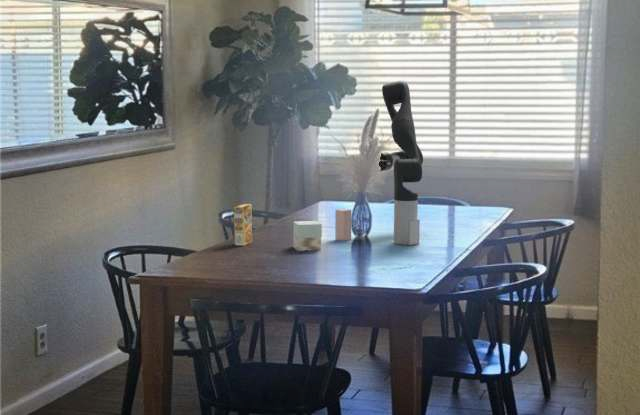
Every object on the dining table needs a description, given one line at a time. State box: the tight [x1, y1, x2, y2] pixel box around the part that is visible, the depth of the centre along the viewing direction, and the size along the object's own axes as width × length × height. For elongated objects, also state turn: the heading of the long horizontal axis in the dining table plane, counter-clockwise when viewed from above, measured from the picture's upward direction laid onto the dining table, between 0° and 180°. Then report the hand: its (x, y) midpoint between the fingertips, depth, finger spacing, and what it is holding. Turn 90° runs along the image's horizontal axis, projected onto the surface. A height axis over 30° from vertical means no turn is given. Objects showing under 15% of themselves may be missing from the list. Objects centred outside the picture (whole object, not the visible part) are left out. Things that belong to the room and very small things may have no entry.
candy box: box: [233, 203, 253, 247], centre depth 372 cm, size 9×4×15 cm, turn 163°
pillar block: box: [334, 208, 352, 241], centre depth 383 cm, size 4×4×12 cm
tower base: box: [292, 233, 322, 252], centre depth 363 cm, size 9×9×5 cm
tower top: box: [293, 220, 323, 238], centre depth 363 cm, size 9×9×5 cm
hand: (361, 163), depth 388 cm, fingers open, 8 cm apart
